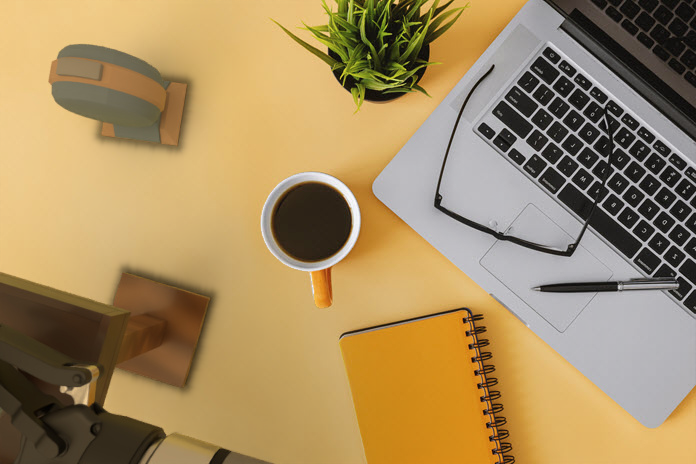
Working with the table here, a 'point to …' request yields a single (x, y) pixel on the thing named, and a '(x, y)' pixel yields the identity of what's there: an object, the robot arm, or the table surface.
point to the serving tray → (59, 338)
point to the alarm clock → (118, 93)
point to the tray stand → (159, 328)
